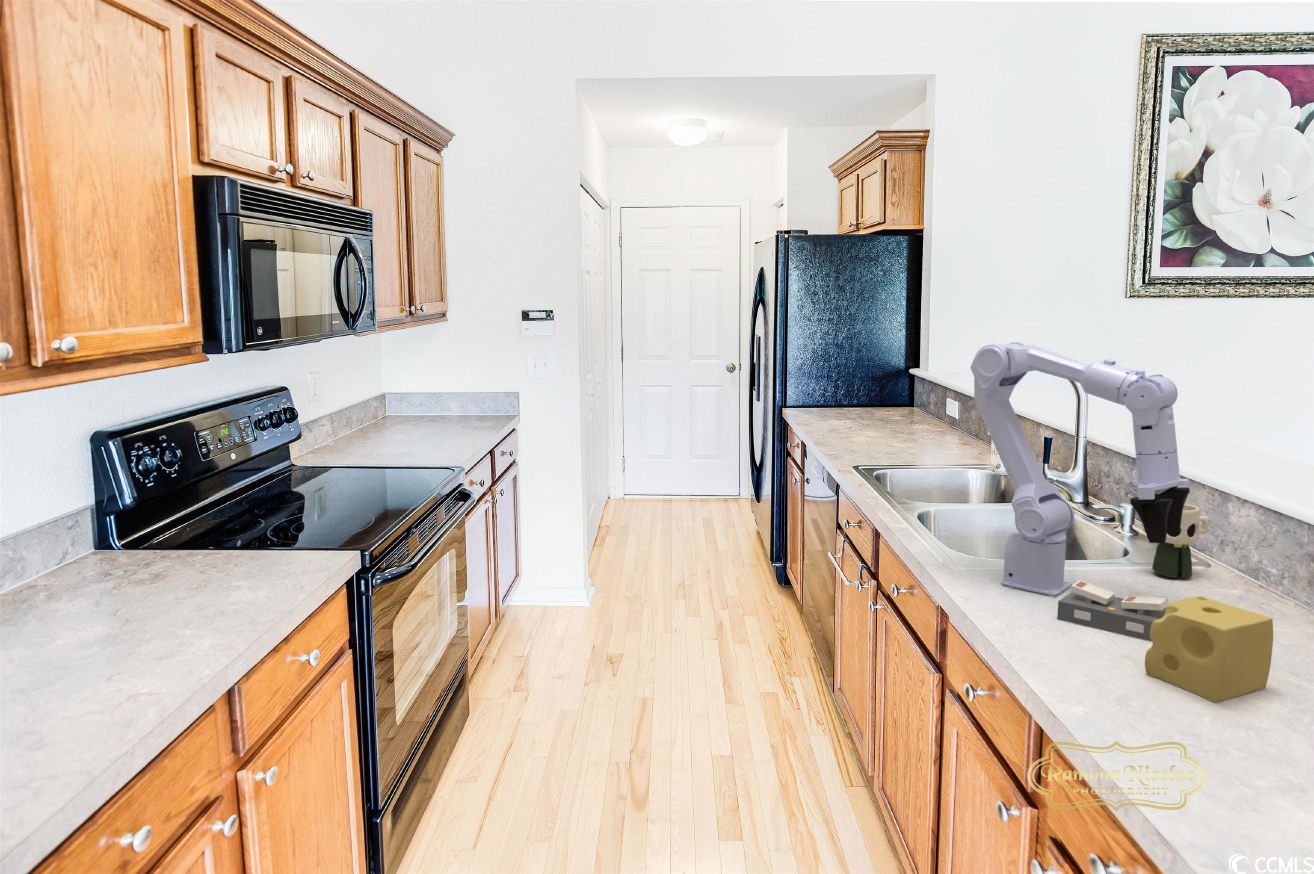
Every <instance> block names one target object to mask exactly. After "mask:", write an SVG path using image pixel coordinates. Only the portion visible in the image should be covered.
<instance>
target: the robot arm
mask: <svg viewBox="0 0 1314 874" xmlns="http://www.w3.org/2000/svg"><path fill="white" fill-rule="evenodd" d="M1116 363H1117V362H1116V360H1115V359H1110V358H1107V359H1106V358H1105V359H1104V360H1096V361H1094V362H1092V363H1090V364H1087V363H1086V362H1085V363H1084V362H1081V361H1079V360H1077V359H1076V360H1075V359H1074V358H1070V357H1067V356H1065V355H1063V354H1059V353H1056V352H1054V351H1050V350H1048V349H1045V348H1042V347H1040V346H1036V345H1034V344H1032V345H1031V344H1024V343H1022V342H1018V341H1017V342H1010V343H1003V344H987V345H986V344H985V345H984V346H982V347H981V348H979V349H978V350H977V352H976V354H975V355H974V358H973V359H972V362H971V364H970V371H971V373H972V375H973V377H974V379H973V381H974V382H973V383H974V384H973V385H974V387H973V389H974V391H973V392H974V393H973V394H974V395H973V397H974V403H975V406H976V407H977V410H978V412H979V414H980V417H981V418H982V421H983V423H984V426H985V429H986V430H987V432H988V435H989V436H990V440H992V444H993V445H994V448H995V449H996V452H997V454H998V456H999V458H1000V460H1001V463H1002V465H1003V467H1004V469H1005V472H1006V474H1007V476H1008V479H1009V480H1010V483H1011V485H1012V488H1013V489H1014V495H1013V497H1012V500H1011V506H1012V509H1013V512H1014V525H1015V528H1016V530H1017V531H1018V533H1014V532H1013V533H1012V534H1010V535H1009V536H1008V538H1007V540H1006V543H1005V548H1004V558H1003V559H1004V560H1003V564H1004V565H1003V581H1001V585H1003V586H1006V587H1011V588H1015V589H1020V590H1024V591H1028V592H1034V593H1038V594H1043V595H1048V596H1052V597H1057V596H1058V595H1059V594H1061V593H1062V592H1065V590H1067V589H1069V588H1071V586H1072V585H1073V583H1072V582H1070V581H1066V580H1064V578H1065V566H1066V565H1065V563H1066V548H1067V547H1066V546H1067V530H1068V529H1069V528H1071V527H1072V525H1073V523H1074V520H1075V513H1074V509H1073V506H1072V505H1071V504H1070V503H1069V502H1068V501H1067V500H1066V499H1065V498H1064V497H1063V496H1062V495H1061V493H1060V491H1059V489H1058V487H1056V486H1055V485H1053V484H1052V483H1050V482H1049V481H1048V480H1047V479H1046V478H1045V475H1044V473H1043V471H1042V469H1041V467H1040V464H1039V462H1038V460H1037V458H1036V455H1035V453H1034V451H1033V449H1032V447H1031V445H1030V443H1029V441H1028V438H1027V436H1026V434H1025V432H1024V430H1023V428H1022V425H1021V424H1020V420H1019V419H1018V417H1017V414H1016V412H1015V410H1014V408H1013V406H1012V404H1011V402H1010V398H1011V396H1012V393H1013V392H1014V390H1015V387H1016V386H1017V385H1018V384H1019V383H1020V381H1021V380H1023V378H1025V376H1026V375H1027V374H1028V373H1029V372H1040V373H1044V374H1047V375H1050V376H1054V377H1057V378H1062V379H1064V380H1068V381H1070V382H1071V381H1072V382H1076V383H1079V384H1080V385H1081V388H1082V390H1083V391H1084V393H1086V394H1088V395H1091V396H1094V397H1097V398H1101V399H1104V400H1105V401H1109V402H1112V403H1115V404H1118V405H1121V406H1125V407H1126V409H1127V411H1129V412H1130V413H1131V416H1132V418H1131V419H1132V431H1133V440H1134V450H1135V451H1134V452H1135V460H1136V471H1137V481H1136V484H1137V494H1138V496H1133V497H1132V498H1130V499H1129V501H1130V505H1131V506H1132V507H1133V509H1134V510H1135V511H1136V513H1137V515H1138V516H1139V518H1140V521H1141V523H1142V525H1143V526H1144V529H1145V532H1146V533H1145V532H1144V533H1145V535H1146V538H1147V540H1148V542H1149V544H1159V543H1165V541H1166V536H1167V534H1179V531H1180V527H1181V519H1182V512H1183V507H1184V504H1186V501H1187V499H1188V496H1189V495H1190V492H1191V490H1190V487H1185V485H1186V486H1187V485H1188V484H1189V483H1190V480H1189V478H1181V475H1180V466H1179V456H1178V454H1179V453H1178V444H1177V443H1178V442H1177V437H1176V436H1177V435H1176V425H1175V418H1174V417H1175V416H1174V408H1173V406H1174V405H1175V403H1176V401H1177V400H1178V393H1179V392H1178V389H1177V386H1176V384H1175V383H1174V382H1173V381H1172V380H1171V379H1170V378H1168V377H1166V376H1164V375H1163V374H1152V375H1149V376H1146V371H1145V370H1144V369H1142V368H1141V369H1140V368H1138V369H1136V370H1133V369H1130V368H1127V367H1124V366H1120V365H1118V364H1117V365H1116ZM1180 486H1182V487H1180ZM1183 486H1184V487H1183ZM1143 526H1142V527H1143Z"/></svg>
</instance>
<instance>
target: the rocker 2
mask: <svg viewBox="0 0 1314 874" xmlns="http://www.w3.org/2000/svg"><path fill="white" fill-rule="evenodd" d="M1123 599H1124V600H1123V601H1121V607H1122V608H1127V609H1144V610H1160V611H1161V610H1163V609H1164V608H1165V607H1166V608H1167V606H1168V604H1169V599H1168V597H1155V596H1136V595H1128V596H1126V597H1125V598H1123Z"/></svg>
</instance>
